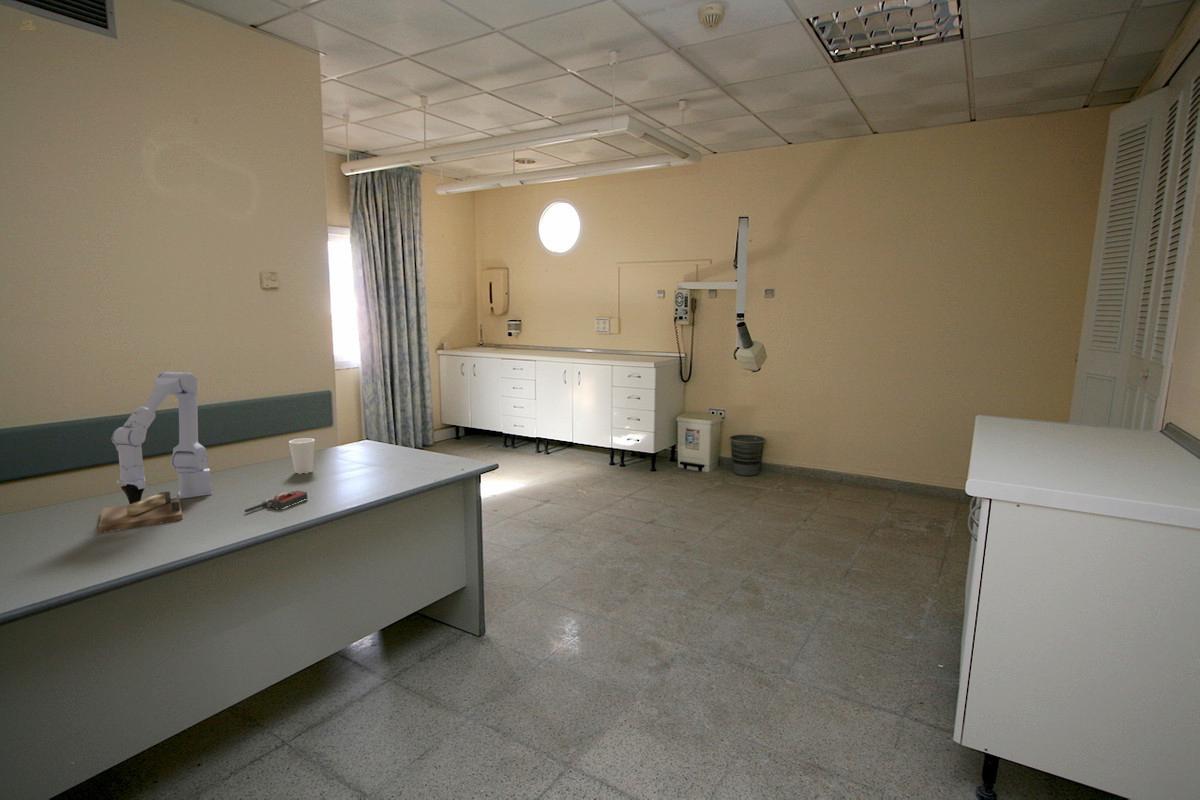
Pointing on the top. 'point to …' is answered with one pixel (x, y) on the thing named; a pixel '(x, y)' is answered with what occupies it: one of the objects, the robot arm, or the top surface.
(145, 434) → the robot arm
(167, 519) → the stool seat
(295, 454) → the foam cup
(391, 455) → the top surface
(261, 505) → the walkie-talkie
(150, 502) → the folding leg
